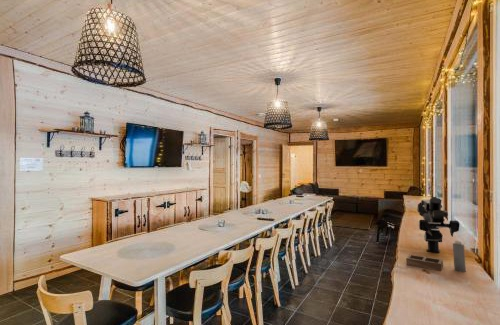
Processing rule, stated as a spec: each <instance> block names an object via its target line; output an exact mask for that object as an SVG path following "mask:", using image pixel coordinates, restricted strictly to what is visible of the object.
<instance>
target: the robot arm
mask: <svg viewBox="0 0 500 325" xmlns="http://www.w3.org/2000/svg"><path fill="white" fill-rule="evenodd" d="M442 208H443V206H442V199H441V198H438V197H437V196H432V197H431V198H430V199H421V201H420V202H419V203H418V204H417V213H418V214H419V216H421V217H422V218H423V219H419V221H418V229H419V230H420V231H423V232H424V236H423V237H424V238H423V239H424V241H425V242H426V243H427V249H426V252H430V253H437V254H440V253H441V252H440V251H441V249H439V248H440V245H439V243H443V237H444V236H443V233H442V232H441V230H440V229H443V228H444V229H449V234H450V236H451V237H454V234H455V233H457V232H459V231H460V225H461V223H460V222H459V220H449V223H444V222H445V218H448V216H449V214H448V211H447V210H442Z"/></svg>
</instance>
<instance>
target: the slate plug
mask: <svg viewBox="0 0 500 325" xmlns="http://www.w3.org/2000/svg"><path fill="white" fill-rule="evenodd" d="M452 251H453V267H454V268H453V269H454V271H457V272H460V273H462V272H463V273H464V272H466V268H467V267H466V256H465V244H463V243H462V241H461V240H455V242H454V243H452Z"/></svg>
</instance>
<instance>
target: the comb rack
mask: <svg viewBox="0 0 500 325" xmlns="http://www.w3.org/2000/svg"><path fill="white" fill-rule="evenodd" d="M405 262H406V266H410V267H417V268H422V269H423V268H424V269H426V270H427V269H429V270H432V271H433V270H434V271H439V272H442V270H443V267H444V259H442V258H435V257H429V256H423V255H415V254H408V255H407V257H406V261H405Z"/></svg>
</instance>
